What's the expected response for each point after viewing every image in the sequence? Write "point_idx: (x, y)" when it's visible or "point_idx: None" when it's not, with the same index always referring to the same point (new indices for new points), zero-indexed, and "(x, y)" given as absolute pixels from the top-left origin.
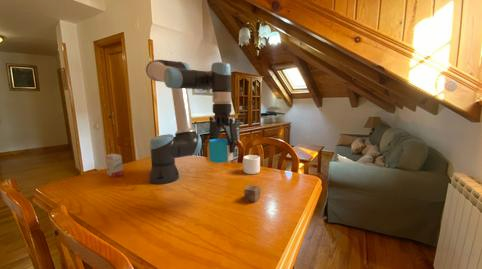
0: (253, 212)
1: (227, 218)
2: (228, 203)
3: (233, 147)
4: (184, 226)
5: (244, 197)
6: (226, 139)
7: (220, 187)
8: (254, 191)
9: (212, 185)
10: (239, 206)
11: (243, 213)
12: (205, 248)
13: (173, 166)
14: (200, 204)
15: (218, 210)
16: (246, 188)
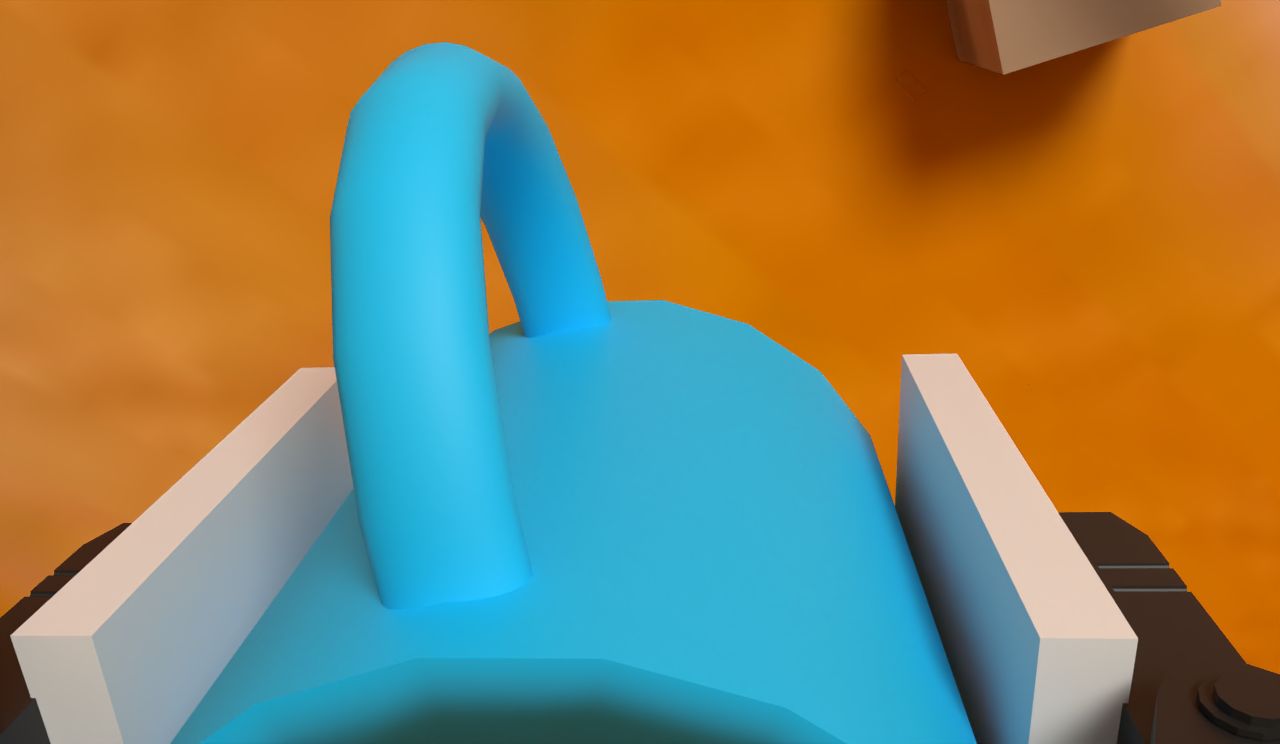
0: (1262, 217)
1: (1085, 494)
2: (855, 277)
3: (1208, 649)
4: None
5: (971, 61)
6: (591, 725)
7: (362, 19)
8: (1202, 11)
9: (215, 64)
10: (1021, 233)
11: (1169, 315)
12: None
13: None
14: None
15: (888, 458)
16: (1023, 32)
